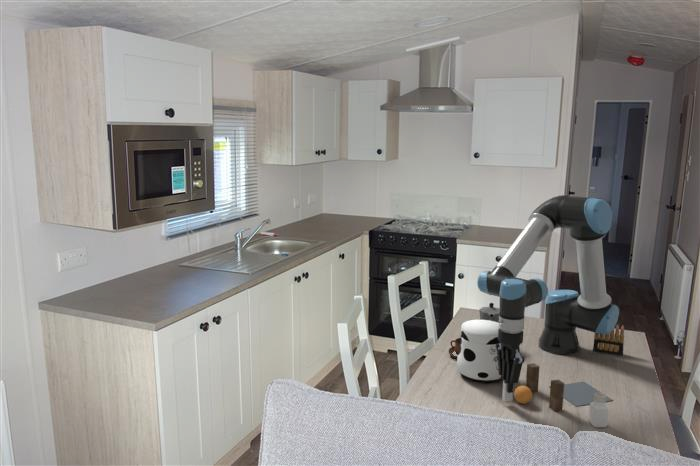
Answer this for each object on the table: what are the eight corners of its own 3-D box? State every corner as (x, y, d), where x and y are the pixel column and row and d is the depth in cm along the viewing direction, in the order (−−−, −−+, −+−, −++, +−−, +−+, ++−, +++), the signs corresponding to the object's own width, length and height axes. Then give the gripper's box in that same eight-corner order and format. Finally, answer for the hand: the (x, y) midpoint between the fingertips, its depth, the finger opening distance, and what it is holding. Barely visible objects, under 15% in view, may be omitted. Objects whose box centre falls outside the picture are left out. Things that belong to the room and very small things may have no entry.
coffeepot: (502, 353, 218) (504, 309, 215) (477, 351, 220) (479, 307, 217) (501, 339, 233) (503, 297, 230) (477, 337, 235) (479, 295, 232)
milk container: (514, 385, 191) (516, 335, 188) (464, 386, 190) (466, 336, 187) (497, 364, 208) (499, 317, 205) (451, 365, 207) (453, 319, 204)
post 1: (532, 388, 189) (534, 363, 187) (537, 391, 186) (539, 366, 185) (525, 389, 188) (527, 364, 187) (530, 393, 186) (532, 367, 184)
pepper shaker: (600, 421, 168) (603, 391, 166) (607, 428, 164) (610, 397, 162) (587, 421, 168) (590, 391, 166) (593, 428, 164) (596, 398, 162)
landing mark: (583, 381, 194) (583, 381, 194) (613, 400, 180) (613, 400, 180) (548, 387, 190) (548, 386, 190) (575, 406, 177) (576, 406, 177)
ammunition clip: (622, 354, 217) (625, 324, 215) (622, 355, 216) (625, 326, 213) (592, 349, 222) (595, 320, 219) (592, 351, 220) (595, 322, 218)
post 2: (556, 406, 177) (558, 379, 175) (562, 410, 174) (564, 383, 173) (549, 407, 176) (550, 380, 175) (554, 411, 174) (556, 384, 172)
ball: (508, 388, 180) (514, 402, 182) (518, 396, 175) (524, 409, 176) (522, 379, 181) (527, 393, 183) (532, 386, 176) (538, 400, 177)
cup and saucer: (445, 360, 213) (446, 344, 212) (451, 348, 224) (452, 333, 223) (477, 364, 208) (478, 349, 207) (482, 352, 219) (483, 337, 218)
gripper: (489, 323, 178) (486, 392, 183) (511, 338, 166) (507, 411, 170) (510, 321, 180) (506, 389, 185) (533, 335, 168) (529, 408, 172)
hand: (507, 400), depth 178 cm, fingers closed
